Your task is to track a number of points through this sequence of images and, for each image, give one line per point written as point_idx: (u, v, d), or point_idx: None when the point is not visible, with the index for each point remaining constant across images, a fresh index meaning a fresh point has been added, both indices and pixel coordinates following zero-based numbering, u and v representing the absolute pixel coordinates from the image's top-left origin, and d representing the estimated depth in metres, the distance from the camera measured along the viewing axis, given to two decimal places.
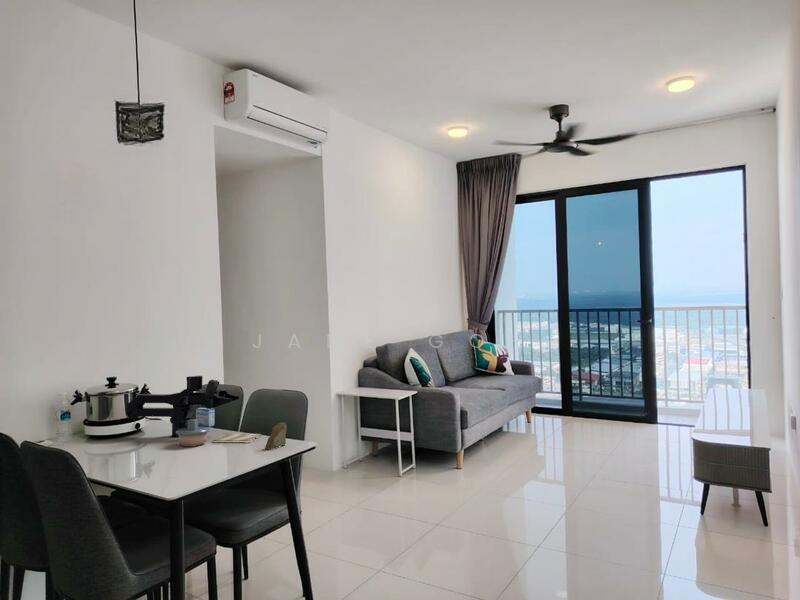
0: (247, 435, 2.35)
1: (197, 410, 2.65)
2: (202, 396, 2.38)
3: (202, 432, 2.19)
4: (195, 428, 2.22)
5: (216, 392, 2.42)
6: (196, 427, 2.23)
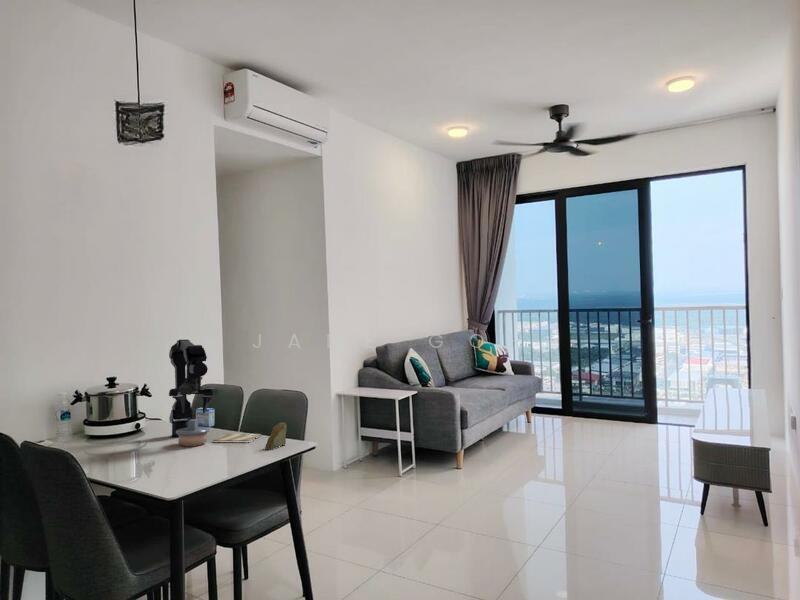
0: (247, 435, 2.35)
1: (197, 410, 2.65)
2: None
3: (202, 432, 2.19)
4: (195, 428, 2.22)
5: None
6: (196, 427, 2.23)
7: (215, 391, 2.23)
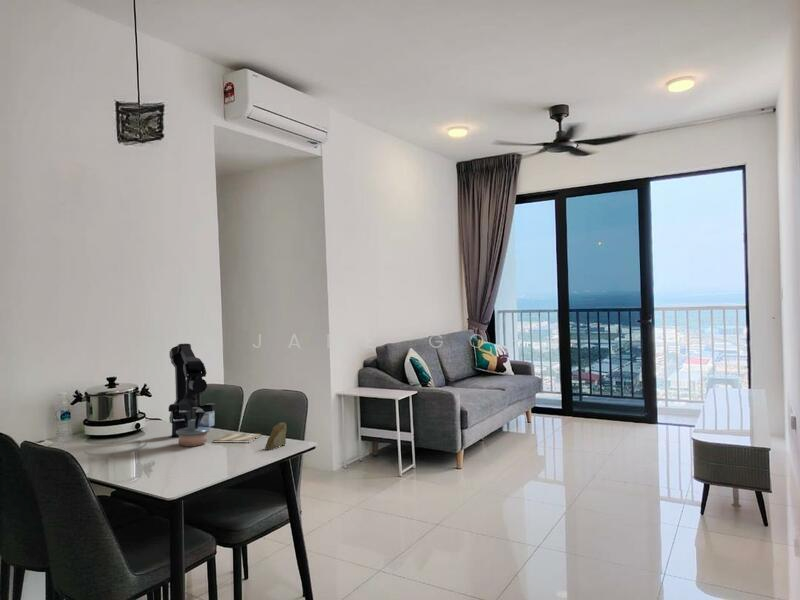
0: (247, 435, 2.35)
1: None
2: None
3: (202, 432, 2.19)
4: (195, 428, 2.22)
5: None
6: None
7: (215, 407, 2.23)
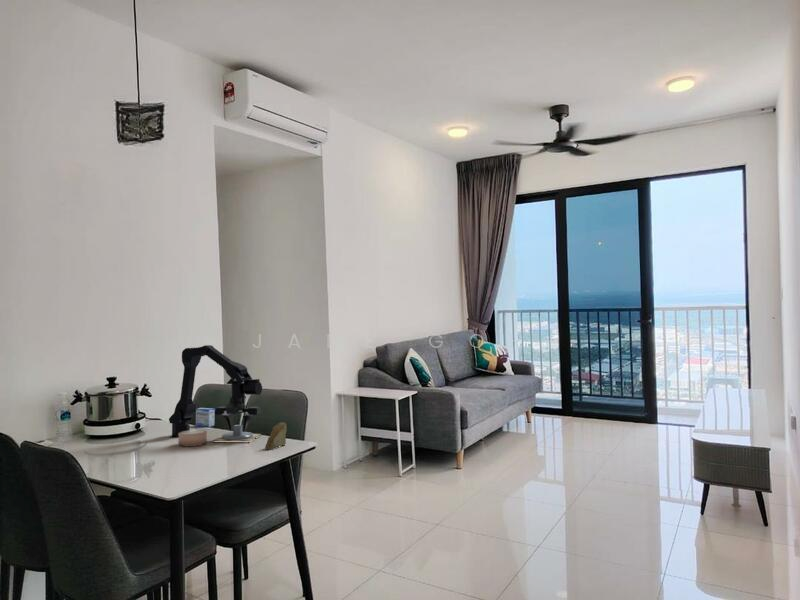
0: None
1: (197, 410, 2.65)
2: (231, 398, 2.32)
3: (247, 437, 2.29)
4: (240, 433, 2.32)
5: None
6: (241, 432, 2.32)
7: (259, 410, 2.32)
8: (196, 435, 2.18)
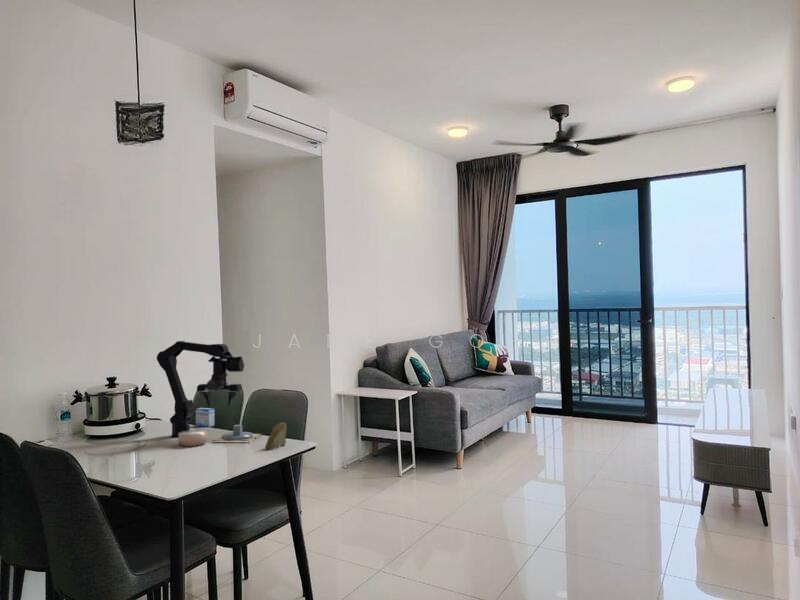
0: None
1: (197, 410, 2.65)
2: None
3: (247, 437, 2.29)
4: (240, 433, 2.32)
5: None
6: (241, 432, 2.32)
7: (239, 387, 2.40)
8: (196, 435, 2.18)
